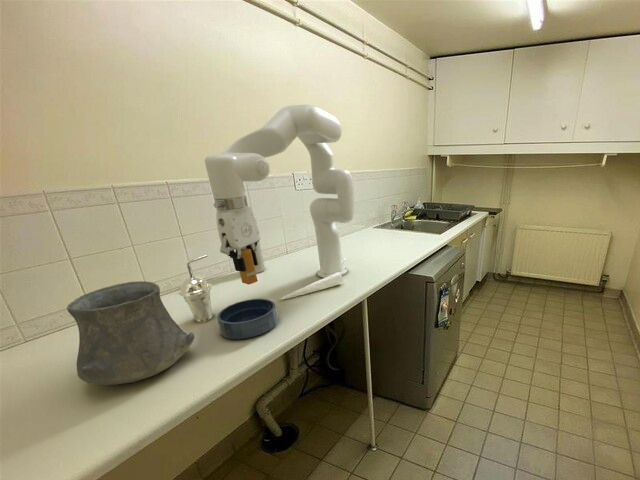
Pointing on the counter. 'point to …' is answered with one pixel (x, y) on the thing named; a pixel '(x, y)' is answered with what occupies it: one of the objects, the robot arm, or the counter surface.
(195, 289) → the cup with straw
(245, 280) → the supplement box
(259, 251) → the travel mug
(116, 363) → the vessel
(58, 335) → the counter surface
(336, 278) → the unicorn horn
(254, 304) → the bowl
